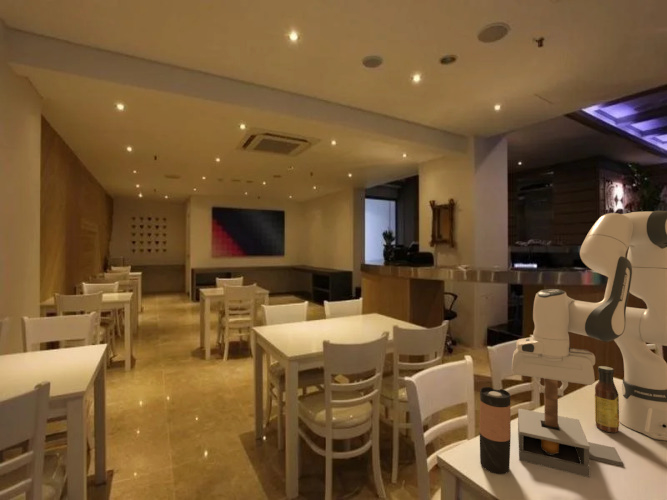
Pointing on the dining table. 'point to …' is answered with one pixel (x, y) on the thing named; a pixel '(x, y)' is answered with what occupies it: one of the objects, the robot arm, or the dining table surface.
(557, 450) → the button
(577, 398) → the dining table surface
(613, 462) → the pad
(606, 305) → the robot arm
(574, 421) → the box
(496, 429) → the travel mug
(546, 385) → the brown wooden bar
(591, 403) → the dining table surface
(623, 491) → the dining table surface
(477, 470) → the dining table surface
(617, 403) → the sauce bottle
